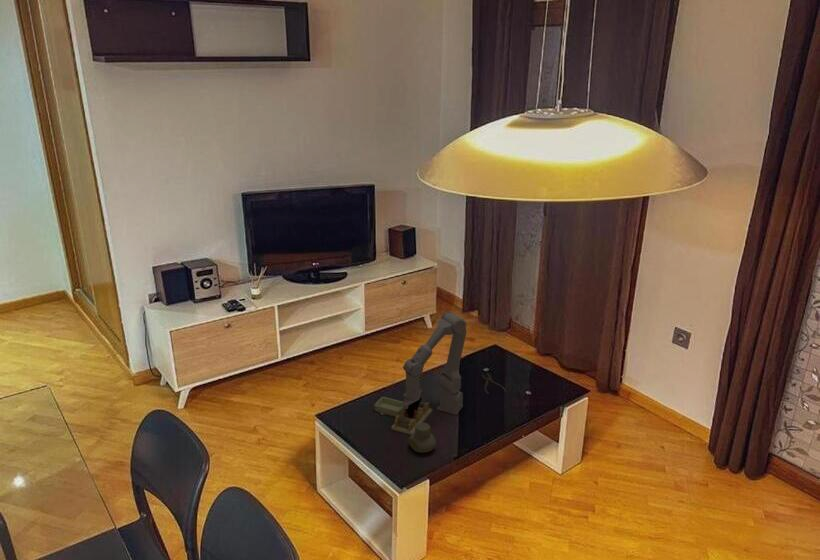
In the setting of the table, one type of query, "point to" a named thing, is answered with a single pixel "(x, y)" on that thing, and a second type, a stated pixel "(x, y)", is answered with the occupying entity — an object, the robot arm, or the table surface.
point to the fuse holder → (408, 428)
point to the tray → (389, 406)
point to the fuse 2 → (423, 405)
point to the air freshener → (422, 438)
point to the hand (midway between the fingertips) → (412, 415)
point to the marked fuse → (416, 412)
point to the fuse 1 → (405, 420)
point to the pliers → (491, 381)
